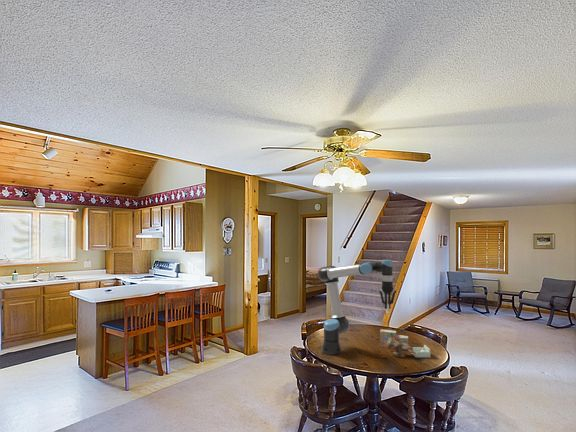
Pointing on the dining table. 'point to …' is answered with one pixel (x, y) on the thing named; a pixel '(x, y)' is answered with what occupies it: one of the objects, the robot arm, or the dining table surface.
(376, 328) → the dining table surface
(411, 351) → the mottled brown lumpy cluster
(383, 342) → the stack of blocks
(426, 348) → the pale green open box
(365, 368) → the dining table surface
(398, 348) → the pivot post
